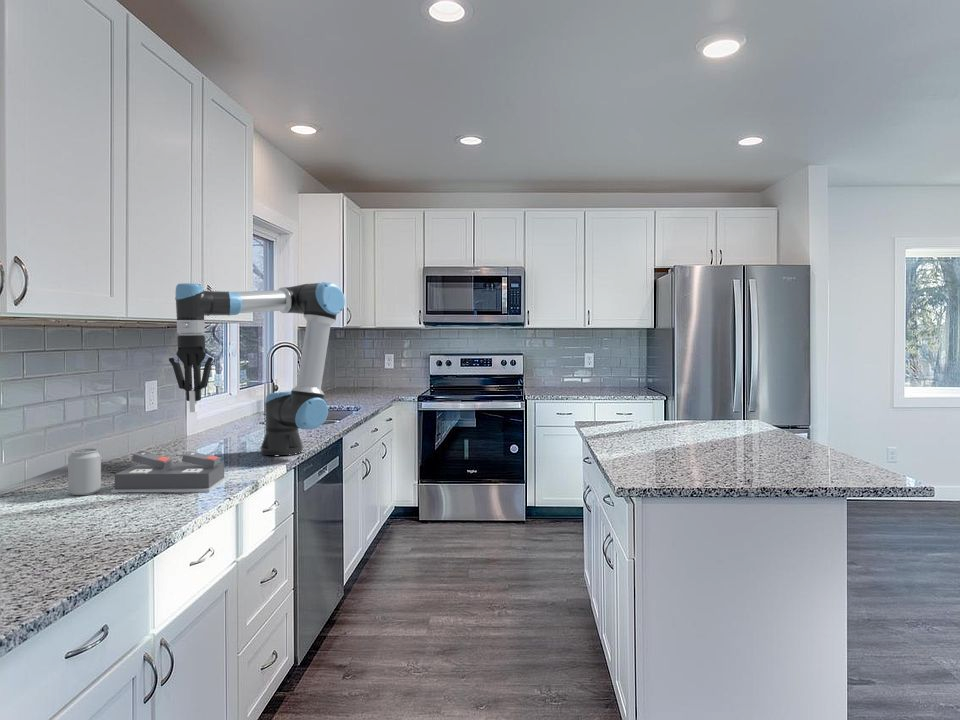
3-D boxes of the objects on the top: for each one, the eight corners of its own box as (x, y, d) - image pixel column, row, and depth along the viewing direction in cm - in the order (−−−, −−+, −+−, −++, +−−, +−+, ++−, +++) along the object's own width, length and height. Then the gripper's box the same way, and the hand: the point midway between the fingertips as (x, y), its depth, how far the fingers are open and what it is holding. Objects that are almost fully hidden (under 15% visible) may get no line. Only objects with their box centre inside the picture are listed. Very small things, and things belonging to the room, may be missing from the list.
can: (84, 497, 154) (84, 453, 153) (61, 495, 155) (60, 451, 155) (107, 490, 161) (107, 448, 160) (85, 488, 162) (85, 446, 162)
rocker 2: (188, 457, 172) (190, 450, 172) (219, 463, 173) (220, 456, 173) (181, 461, 167) (183, 454, 167) (213, 467, 168) (214, 460, 168)
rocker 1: (139, 457, 170) (142, 450, 170) (170, 465, 171) (172, 458, 171) (131, 460, 165) (133, 453, 165) (162, 469, 166) (165, 462, 166)
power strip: (137, 479, 173) (137, 462, 173) (227, 479, 176) (227, 461, 176) (111, 493, 158) (110, 473, 158) (209, 492, 161) (209, 473, 161)
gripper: (163, 335, 170) (166, 413, 172) (209, 334, 171) (211, 412, 173) (173, 334, 177) (177, 410, 179) (217, 334, 179) (220, 409, 180)
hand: (194, 411), depth 176 cm, fingers closed
